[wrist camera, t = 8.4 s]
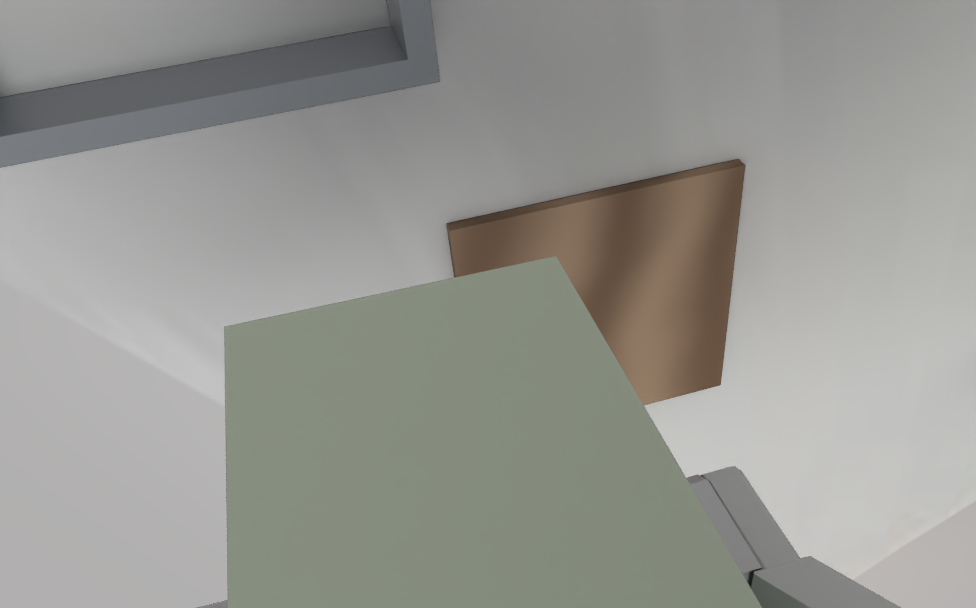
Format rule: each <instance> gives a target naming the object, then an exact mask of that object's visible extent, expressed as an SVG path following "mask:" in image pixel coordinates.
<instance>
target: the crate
mask: <svg viewBox="0 0 976 608" xmlns="http://www.w3.org/2000/svg"><path fill="white" fill-rule="evenodd" d="M387 6H388V12H389V18H390V24H391V26H388V27H383V28H377V29H372V30H367V31H361V32H356V33H350V34H345V35H339V36H334V37H328V38H323V39H318V40H312V41H307V42H301V43H296V44H290V45H285V46H279V47H274V48H268V49H263V50H258V51H252V52H247V53H241V54H236V55H230V56H225V57H219V58H214V59H209V60H203V61H198V62H192V63H187V64H181V65H176V66H170V67H165V68H160V69H154V70H149V71H143V72H138V73H132V74H127V75H121V76H116V77H110V78H105V79H100V80H94V81H89V82H83V83H78V84H72V85H67V86H61V87H56V88H51V89H45V90H40V91H34V92H29V93H23V94H18V95H12V96H7V97H2V98H0V168H1V167H6V166H11V165H17V164H22V163H27V162H32V161H37V160H42V159H47V158H52V157H58V156H63V155H68V154H73V153H78V152H83V151H88V150H93V149H99V148H104V147H109V146H114V145H119V144H124V143H129V142H134V141H139V140H145V139H150V138H155V137H160V136H165V135H170V134H175V133H180V132H186V131H191V130H196V129H201V128H206V127H211V126H216V125H221V124H227V123H232V122H237V121H242V120H247V119H252V118H257V117H262V116H267V115H273V114H278V113H283V112H288V111H293V110H298V109H303V108H308V107H314V106H319V105H324V104H329V103H334V102H339V101H344V100H349V99H355V98H360V97H365V96H370V95H375V94H380V93H385V92H390V91H396V90H401V89H406V88H411V87H416V86H421V85H426V84H431V83H436V82H440V75H439V68H438V60H437V53H436V46H435V38H434V31H433V23H432V16H431V8H430V1H429V0H387Z"/></svg>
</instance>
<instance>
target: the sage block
mask: <svg viewBox="0 0 976 608" xmlns="http://www.w3.org/2000/svg"><path fill="white" fill-rule="evenodd" d="M224 344H225V414H226V415H225V422H226V499H227V500H226V502H227V577H228V579H227V580H228V608H762V607H761V605H760V603H759V601H758V600H757V598H756V596H755V595H754V593H753V591H752V589H751V588H750V586H749V584H748V583H747V581H746V579H745V578H744V576H743V574H742V572H741V571H740V569H739V567H738V566H737V564H736V562H735V560H734V559H733V557H732V555H731V554H730V552H729V550H728V549H727V547H726V545H725V543H724V542H723V540H722V538H721V537H720V535H719V533H718V532H717V530H716V528H715V526H714V525H713V523H712V521H711V520H710V518H709V516H708V514H707V513H706V511H705V509H704V508H703V506H702V504H701V503H700V501H699V499H698V497H697V496H696V494H695V492H694V491H693V489H692V487H691V485H690V484H689V482H688V480H687V479H686V477H685V475H684V474H683V472H682V470H681V468H680V467H679V465H678V463H677V462H676V460H675V458H674V456H673V455H672V453H671V451H670V450H669V448H668V446H667V445H666V443H665V441H664V439H663V438H662V436H661V434H660V433H659V431H658V429H657V427H656V426H655V424H654V422H653V421H652V419H651V417H650V416H649V414H648V412H647V410H646V409H645V407H644V405H643V404H642V402H641V400H640V398H639V397H638V395H637V393H636V392H635V390H634V388H633V387H632V385H631V383H630V381H629V380H628V378H627V376H626V375H625V373H624V371H623V369H622V368H621V366H620V364H619V363H618V361H617V359H616V358H615V356H614V354H613V352H612V351H611V349H610V347H609V346H608V344H607V342H606V341H605V339H604V337H603V335H602V334H601V332H600V330H599V329H598V327H597V325H596V323H595V322H594V320H593V318H592V317H591V315H590V313H589V312H588V310H587V308H586V306H585V305H584V303H583V301H582V300H581V298H580V296H579V294H578V293H577V291H576V289H575V288H574V286H573V284H572V283H571V281H570V279H569V277H568V276H567V274H566V272H565V271H564V269H563V267H562V265H561V264H560V262H559V260H558V259H557V257H556V256H554V257H549V258H545V259H540V260H535V261H531V262H526V263H521V264H517V265H512V266H507V267H503V268H498V269H493V270H489V271H484V272H479V273H474V274H470V275H465V276H460V277H456V278H451V279H446V280H442V281H437V282H432V283H428V284H423V285H418V286H414V287H409V288H404V289H399V290H395V291H390V292H385V293H381V294H376V295H371V296H367V297H362V298H357V299H353V300H348V301H343V302H339V303H334V304H329V305H324V306H320V307H315V308H310V309H306V310H301V311H296V312H292V313H287V314H282V315H278V316H273V317H268V318H264V319H259V320H254V321H249V322H245V323H240V324H235V325H231V326H226V327H224Z"/></svg>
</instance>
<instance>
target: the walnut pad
mask: <svg viewBox="0 0 976 608" xmlns="http://www.w3.org/2000/svg"><path fill="white" fill-rule="evenodd" d="M744 172H745V164H744V163H742V162H741V161H740V160H739V159H738V160H733V161H729V162H724V163H720V164H715V165H711V166H706V167H702V168H697V169H692V170H688V171H683V172H679V173H674V174H670V175H665V176H661V177H656V178H652V179H647V180H643V181H638V182H634V183H629V184H625V185H620V186H616V187H611V188H607V189H602V190H598V191H593V192H589V193H584V194H580V195H575V196H570V197H566V198H561V199H557V200H552V201H548V202H543V203H539V204H534V205H530V206H525V207H521V208H516V209H512V210H507V211H503V212H498V213H494V214H489V215H485V216H480V217H476V218H471V219H467V220H462V221H458V222H453V223H448V224H447V230H448V237H449V244H450V251H451V258H452V265H453V272H454V278H456V277H460V276H465V275H470V274H474V273H479V272H484V271H489V270H493V269H498V268H503V267H507V266H512V265H517V264H521V263H526V262H531V261H535V260H540V259H545V258H549V257H554V256H556V257H557V259H558V260H559V262H560V264H561V265H562V267H563V269H564V271H565V272H566V274H567V276H568V277H569V279H570V281H571V283H572V284H573V286H574V288H575V289H576V291H577V293H578V294H579V296H580V298H581V300H582V301H583V303H584V305H585V306H586V308H587V310H588V312H589V313H590V315H591V317H592V318H593V320H594V322H595V323H596V325H597V327H598V329H599V330H600V332H601V334H602V335H603V337H604V339H605V341H606V342H607V344H608V346H609V347H610V349H611V351H612V352H613V354H614V356H615V358H616V359H617V361H618V363H619V364H620V366H621V368H622V369H623V371H624V373H625V375H626V376H627V378H628V380H629V381H630V383H631V385H632V387H633V388H634V390H635V392H636V393H637V395H638V397H639V398H640V400H641V402H642V404H643V405H647V404H651V403H654V402H658V401H662V400H666V399H670V398H673V397H677V396H681V395H685V394H689V393H692V392H696V391H700V390H704V389H707V388H711V387H715V386H719V385H721V377H722V368H723V359H724V350H725V341H726V332H727V323H728V314H729V305H730V297H731V288H732V279H733V270H734V261H735V252H736V243H737V234H738V225H739V216H740V207H741V198H742V190H743V181H744Z"/></svg>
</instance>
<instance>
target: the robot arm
mask: <svg viewBox="0 0 976 608" xmlns="http://www.w3.org/2000/svg"><path fill="white" fill-rule="evenodd" d="M686 479H687V480H688V482H689V484H690V485H691V487H692V489H693V491H694V492H695V494H696V496H697V497H698V499H699V501H700V503H701V504H702V506H703V508H704V509H705V511H706V513H707V514H708V516H709V518H710V520H711V521H712V523H713V525H714V526H715V528H716V530H717V532H718V533H719V535H720V537H721V538H722V540H723V542H724V543H725V545H726V547H727V549H728V550H729V552H730V554H731V555H732V557H733V559H734V560H735V562H736V564H737V566H738V567H739V569H740V571H741V572H742V574H743V576H744V578H745V579H746V581H747V583H748V584H749V586H750V588H751V589H752V591H753V593H754V595H755V596H756V598H757V600H758V601H759V603H760V605H761V607H762V608H901V607H899V606H897V605H896V604H894V603H892V602H890V601H889V600H887V599H885V598H883V597H881V596H880V595H878V594H876V593H874V592H873V591H871V590H869V589H867V588H866V587H864V586H862V585H860V584H858V583H857V582H855V581H853V580H852V579H850V578H848V577H846V576H844V575H843V574H841V573H839V572H837V571H836V570H834V569H832V568H830V567H829V566H827V565H825V564H823V563H822V562H820V561H818V560H816V559H815V558H813V557H811V556H808V557H804V558H800V557H799V556H798V554H797V553H796V551H795V550H794V548H793V547H792V545H791V544H790V542H789V541H788V539H787V538H786V536H785V535H784V533H783V532H782V530H781V529H780V527H779V526H778V524H777V523H776V521H775V520H774V518H773V517H772V515H771V514H770V512H769V511H768V509H767V508H766V506H765V505H764V503H763V502H762V501H761V499H760V498H759V496H758V495H757V493H756V492H755V490H754V489H753V487H752V486H751V484H750V483H749V481H748V480H747V478H746V477H745V475H744V474H743V472H742V471H741V470H739V469H738V468H736V467H727V468H724V469H720V470H717V471H714V472H710V473H707V474H703V475H695V476H691V477H688V478H686ZM197 608H228V600H226V601H222V602H218V603H213V604H209V605H205V606H201V607H197Z"/></svg>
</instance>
